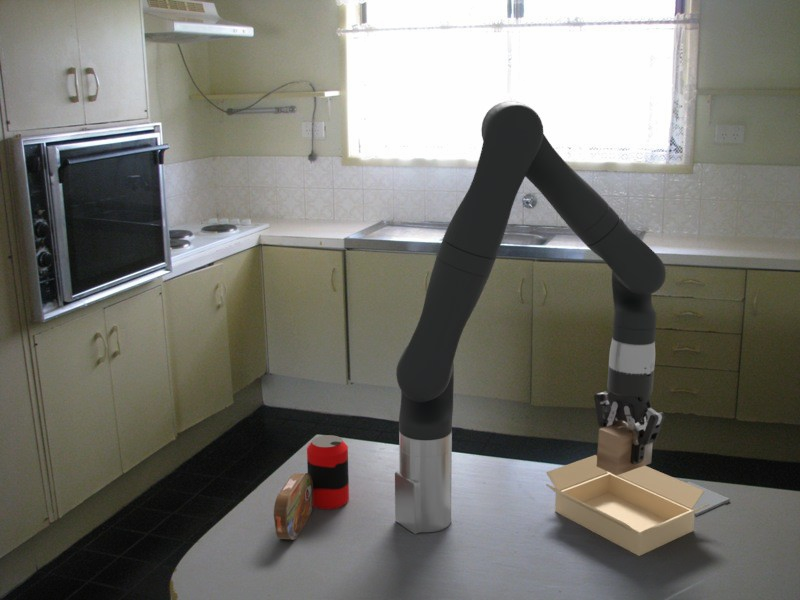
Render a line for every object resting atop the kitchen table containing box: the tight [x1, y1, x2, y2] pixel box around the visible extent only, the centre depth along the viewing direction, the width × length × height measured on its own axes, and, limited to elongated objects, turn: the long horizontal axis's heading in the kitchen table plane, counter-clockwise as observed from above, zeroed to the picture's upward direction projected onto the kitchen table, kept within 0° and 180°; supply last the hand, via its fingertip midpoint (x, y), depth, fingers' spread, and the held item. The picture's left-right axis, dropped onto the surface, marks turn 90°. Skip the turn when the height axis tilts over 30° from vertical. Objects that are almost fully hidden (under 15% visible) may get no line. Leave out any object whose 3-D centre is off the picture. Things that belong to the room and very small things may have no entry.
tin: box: [273, 472, 314, 541], centre depth 153 cm, size 15×3×8 cm, turn 169°
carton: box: [545, 454, 709, 557], centre depth 153 cm, size 20×26×7 cm
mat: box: [686, 481, 731, 517], centre depth 162 cm, size 10×9×1 cm
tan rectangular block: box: [596, 421, 654, 476], centre depth 151 cm, size 9×4×7 cm, turn 125°
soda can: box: [306, 434, 350, 510], centre depth 162 cm, size 8×8×12 cm
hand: (624, 457), depth 151 cm, fingers closed on tan rectangular block, 4 cm apart
